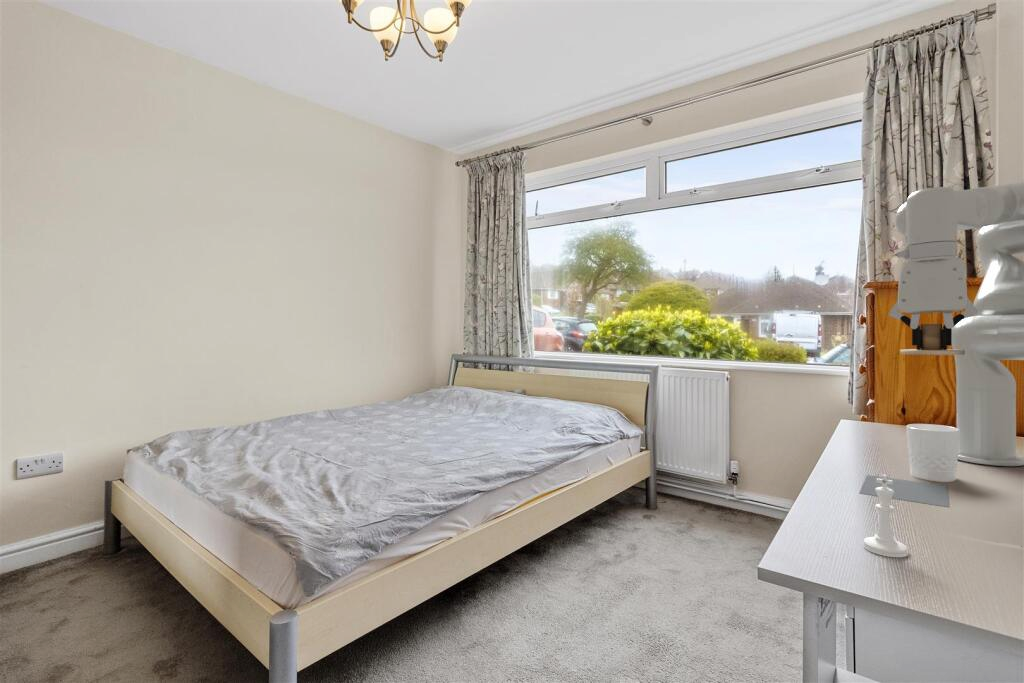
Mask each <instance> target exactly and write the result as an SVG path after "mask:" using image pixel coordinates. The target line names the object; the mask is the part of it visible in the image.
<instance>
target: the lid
mask: <svg viewBox="0 0 1024 683" xmlns="http://www.w3.org/2000/svg"><path fill="white" fill-rule="evenodd" d="M942 329H943V323H921V324H920V330H921V349H920V350H917V348H908V349H907V348H906V349H905V348H902V349H899V351H900V352H899V354H900V355H912V356H913V355H914V356H915V355H916V356H925V355H926V356H954V355H964V354H965V350H957V349H953V348H952V349H950V348H949V349H948V348H947V350H943V349H942Z"/></svg>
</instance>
